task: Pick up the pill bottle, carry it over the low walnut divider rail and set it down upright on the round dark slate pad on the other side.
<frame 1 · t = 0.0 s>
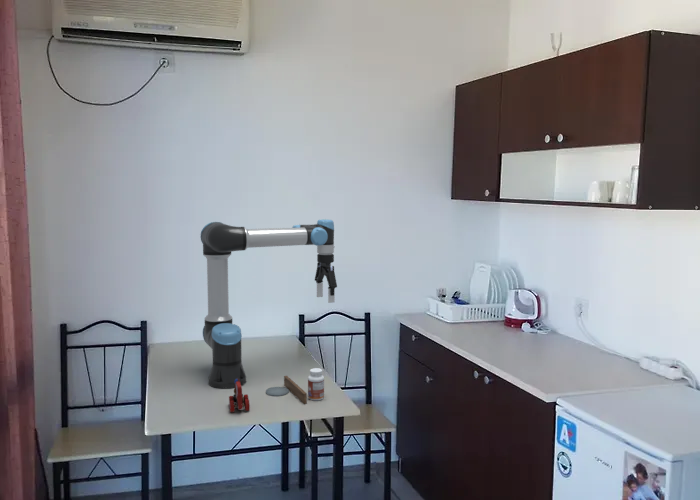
hand: (325, 299, 281), 28 cm above the table, fingers open, 13 cm apart
toy fire truck: (239, 408, 224), on the table
pill bottle: (316, 398, 235), on the table
divider rail: (294, 394, 238), on the table
slate pad: (277, 392, 240), on the table
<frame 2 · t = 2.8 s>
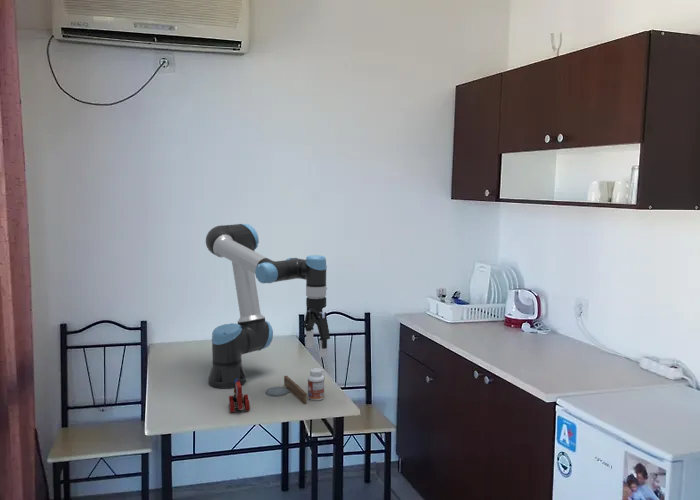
hand: (316, 351, 232), 18 cm above the table, fingers open, 13 cm apart
nothing on the table moved.
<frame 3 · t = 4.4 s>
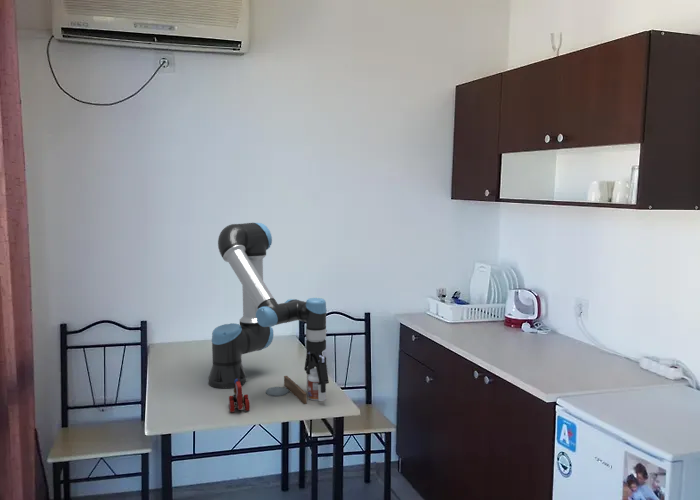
hand: (316, 395, 234), 1 cm above the table, fingers open, 11 cm apart
nothing on the table moved.
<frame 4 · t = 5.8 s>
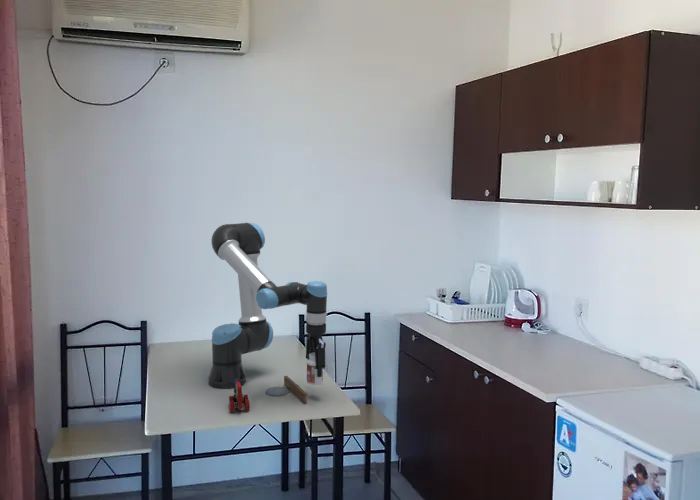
hand: (314, 381, 234), 6 cm above the table, fingers closed on pill bottle, 6 cm apart
pill bottle: (314, 382, 234), point 6 cm above the table, touching gripper
everything else where it was.
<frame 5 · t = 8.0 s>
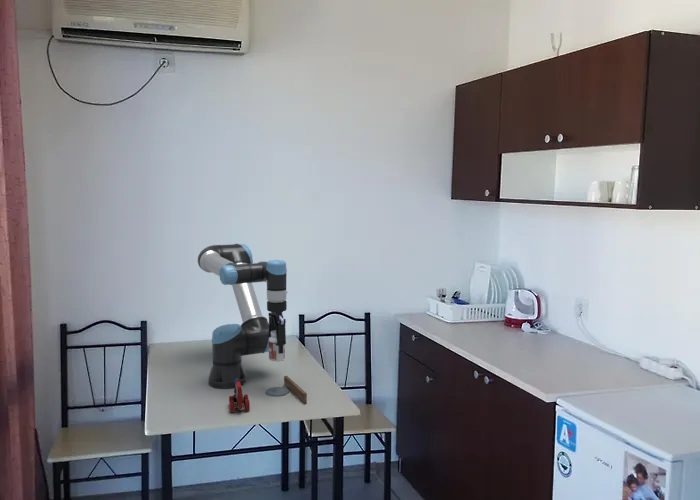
hand: (277, 358, 239), 14 cm above the table, fingers closed on pill bottle, 6 cm apart
pill bottle: (276, 359, 239), point 13 cm above the table, touching gripper
everything else where it was.
when the fingers open (2 cm above the table, at t = 10.2 s): pill bottle drops 1 cm, resting on slate pad.
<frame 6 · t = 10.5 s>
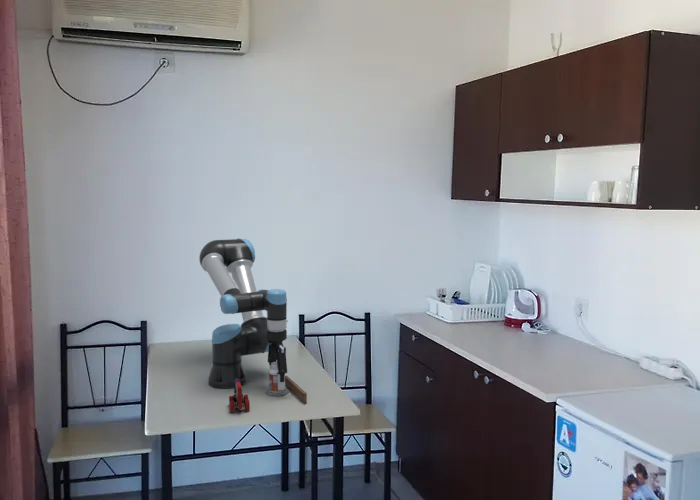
hand: (277, 385, 240), 3 cm above the table, fingers open, 9 cm apart
pill bottle: (277, 391, 240), resting on slate pad
everything else where it was.
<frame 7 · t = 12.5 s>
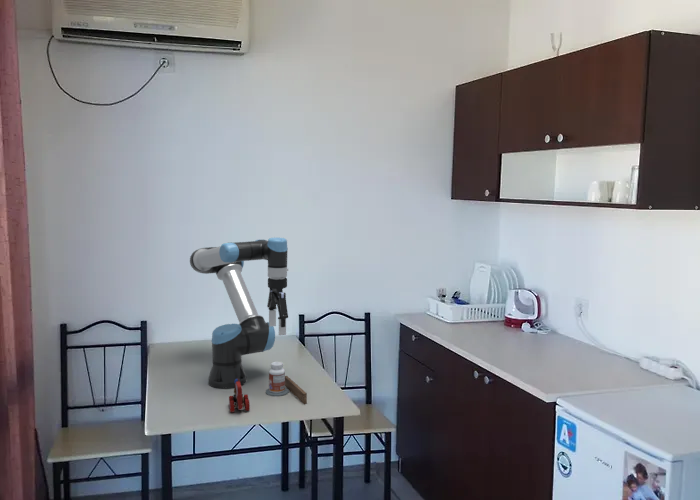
hand: (277, 330, 242), 24 cm above the table, fingers open, 13 cm apart
nothing on the table moved.
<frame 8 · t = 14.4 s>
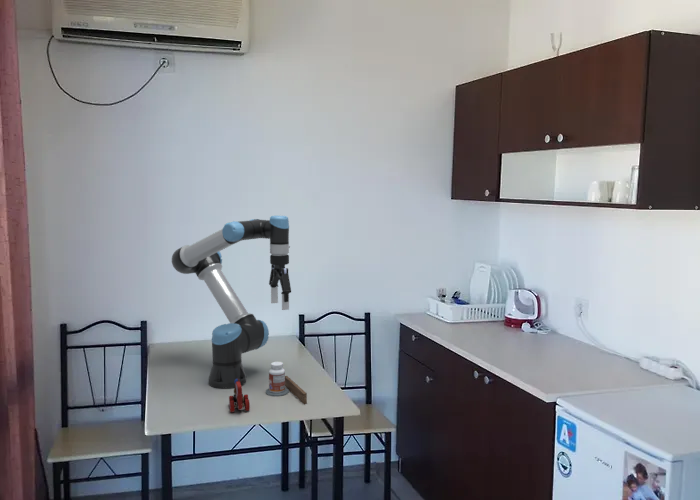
hand: (279, 306, 249), 32 cm above the table, fingers open, 13 cm apart
nothing on the table moved.
at the end: pill bottle inside the target area on the slate pad (0.1 cm from its centre), point 0.4 cm above the slate pad's base; pill bottle tilted 0°; the gripper is holding nothing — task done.
